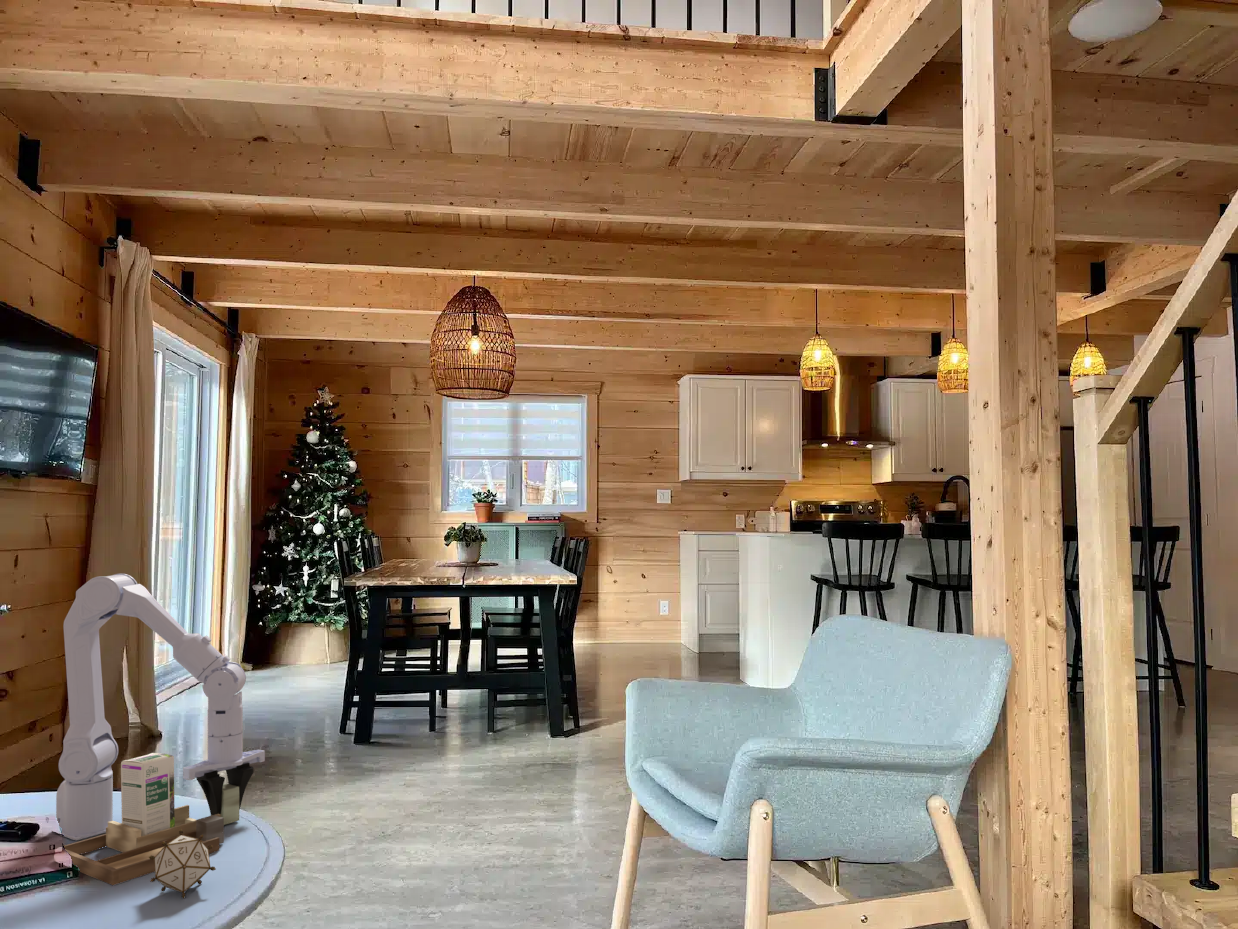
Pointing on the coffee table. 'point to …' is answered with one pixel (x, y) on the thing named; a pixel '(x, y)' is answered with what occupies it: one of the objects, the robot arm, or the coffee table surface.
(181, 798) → the coffee table surface
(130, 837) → the wooden slotted tray
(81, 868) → the lane board
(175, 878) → the game die
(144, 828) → the syrup box
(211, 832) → the wooden bar
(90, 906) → the coffee table surface
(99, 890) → the coffee table surface
